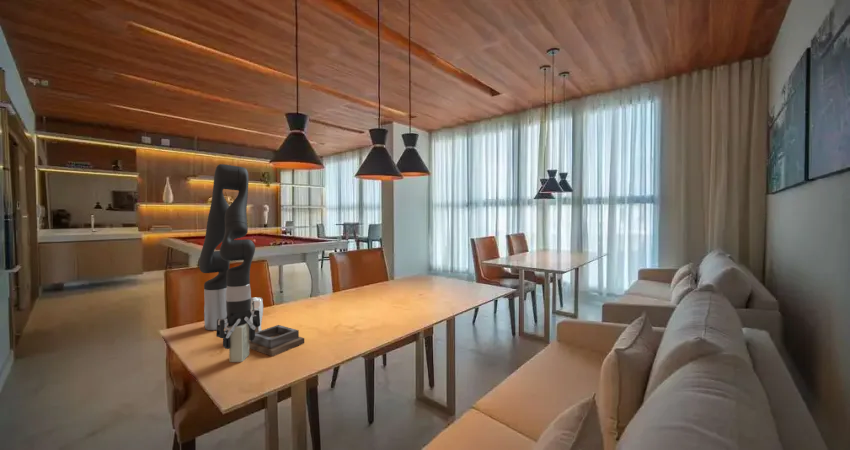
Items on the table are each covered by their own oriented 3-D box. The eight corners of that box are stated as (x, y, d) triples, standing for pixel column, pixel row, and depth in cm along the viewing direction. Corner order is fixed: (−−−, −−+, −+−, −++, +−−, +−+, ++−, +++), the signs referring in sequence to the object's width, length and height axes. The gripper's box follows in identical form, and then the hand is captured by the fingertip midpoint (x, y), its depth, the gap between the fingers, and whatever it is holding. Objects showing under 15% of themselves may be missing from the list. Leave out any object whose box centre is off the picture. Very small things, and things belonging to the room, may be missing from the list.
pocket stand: (245, 346, 131) (244, 333, 131) (277, 335, 143) (277, 323, 143) (272, 356, 123) (272, 342, 123) (304, 343, 135) (304, 330, 135)
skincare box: (237, 355, 124) (236, 321, 123) (250, 354, 124) (249, 320, 123) (228, 362, 117) (228, 327, 117) (242, 362, 118) (241, 327, 117)
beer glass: (255, 339, 139) (255, 301, 138) (240, 337, 140) (239, 300, 139) (267, 333, 145) (266, 297, 145) (252, 331, 147) (251, 296, 146)
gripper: (251, 292, 128) (252, 335, 129) (211, 300, 115) (212, 348, 116) (264, 294, 124) (264, 339, 125) (224, 304, 112) (225, 353, 112)
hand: (239, 344), depth 121 cm, fingers open, 8 cm apart
